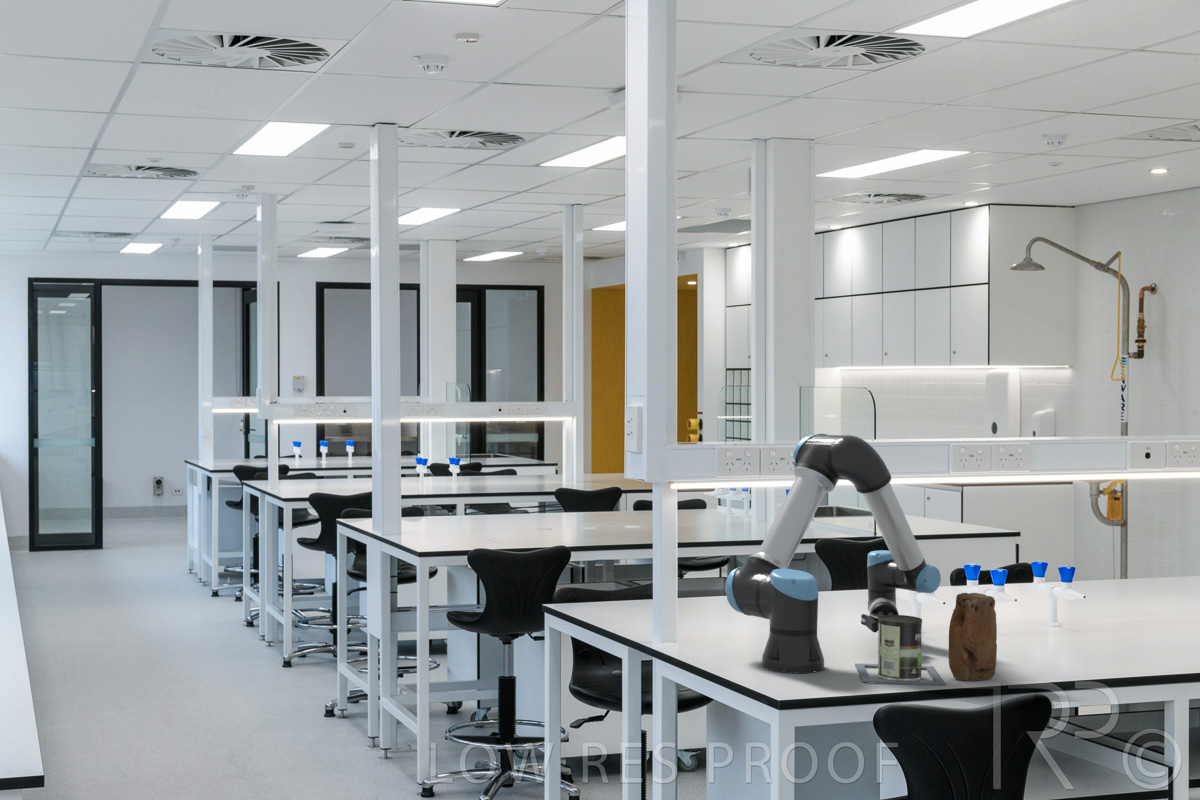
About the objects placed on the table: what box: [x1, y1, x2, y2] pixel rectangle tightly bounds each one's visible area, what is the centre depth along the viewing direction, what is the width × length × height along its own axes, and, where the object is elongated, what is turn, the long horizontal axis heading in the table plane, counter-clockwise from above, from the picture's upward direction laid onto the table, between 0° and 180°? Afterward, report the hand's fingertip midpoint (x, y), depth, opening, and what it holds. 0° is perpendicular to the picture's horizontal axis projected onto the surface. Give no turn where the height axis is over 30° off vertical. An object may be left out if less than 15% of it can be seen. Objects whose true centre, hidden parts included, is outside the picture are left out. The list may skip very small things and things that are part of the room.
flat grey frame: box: [854, 663, 947, 687], centre depth 291 cm, size 19×19×1 cm
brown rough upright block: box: [948, 592, 998, 681], centre depth 289 cm, size 11×8×20 cm
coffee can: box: [877, 614, 923, 681], centre depth 290 cm, size 10×10×14 cm
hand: (888, 635), depth 305 cm, fingers closed
